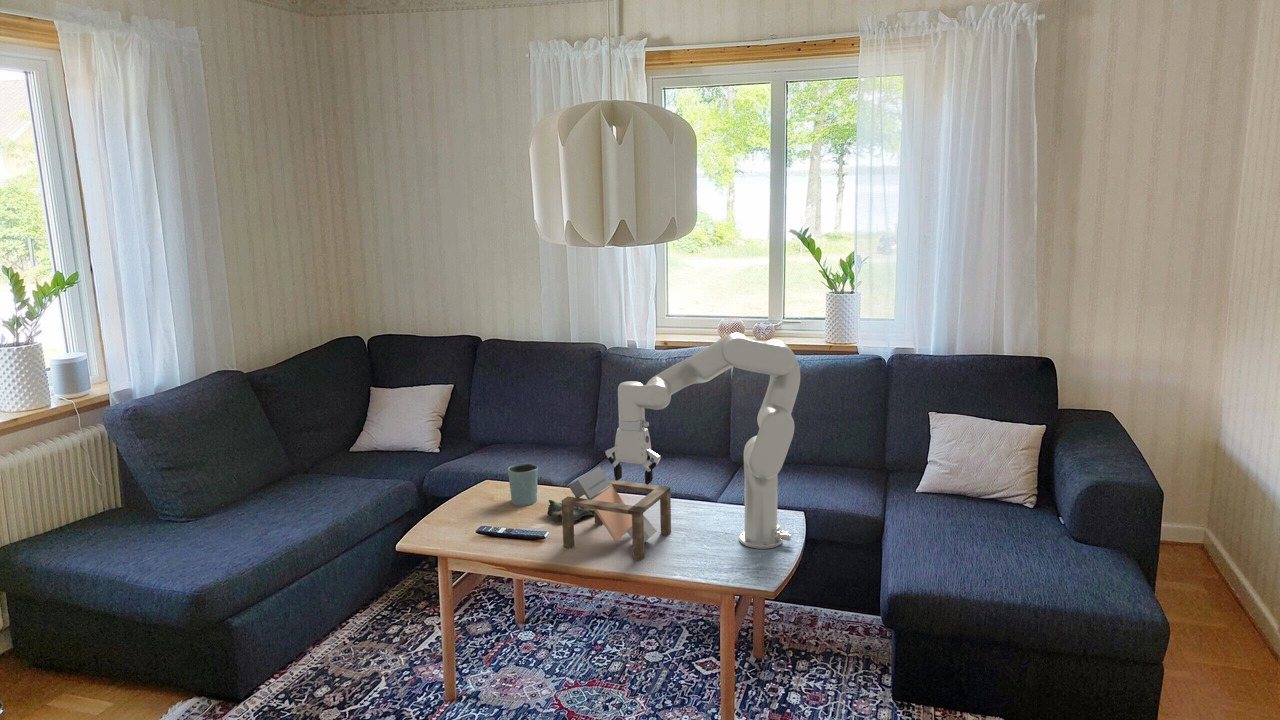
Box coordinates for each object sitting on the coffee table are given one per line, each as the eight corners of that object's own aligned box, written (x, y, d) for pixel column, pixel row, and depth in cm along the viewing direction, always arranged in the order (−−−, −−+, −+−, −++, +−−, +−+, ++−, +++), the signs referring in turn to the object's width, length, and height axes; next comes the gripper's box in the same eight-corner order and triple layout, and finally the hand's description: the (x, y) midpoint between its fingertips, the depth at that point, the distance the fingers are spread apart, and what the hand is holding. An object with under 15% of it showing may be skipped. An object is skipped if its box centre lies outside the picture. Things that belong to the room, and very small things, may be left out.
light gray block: (633, 525, 251) (646, 540, 250) (626, 531, 247) (639, 546, 246) (643, 515, 249) (657, 531, 248) (636, 521, 245) (650, 537, 244)
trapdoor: (628, 529, 257) (637, 523, 256) (607, 546, 245) (617, 540, 243) (590, 472, 259) (600, 466, 258) (568, 486, 247) (577, 479, 245)
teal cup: (506, 506, 281) (505, 472, 279) (512, 496, 291) (510, 463, 289) (537, 506, 281) (535, 472, 278) (541, 496, 291) (540, 462, 288)
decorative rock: (570, 490, 285) (608, 493, 278) (571, 507, 285) (609, 511, 278) (538, 504, 268) (578, 508, 261) (539, 523, 269) (579, 527, 262)
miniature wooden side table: (671, 532, 256) (670, 487, 253) (640, 560, 236) (639, 511, 234) (598, 521, 266) (596, 477, 264) (563, 547, 247) (561, 500, 244)
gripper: (664, 424, 242) (665, 480, 245) (611, 418, 249) (612, 474, 252) (654, 430, 235) (655, 488, 238) (599, 425, 243) (601, 481, 246)
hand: (633, 481), depth 245 cm, fingers open, 9 cm apart
